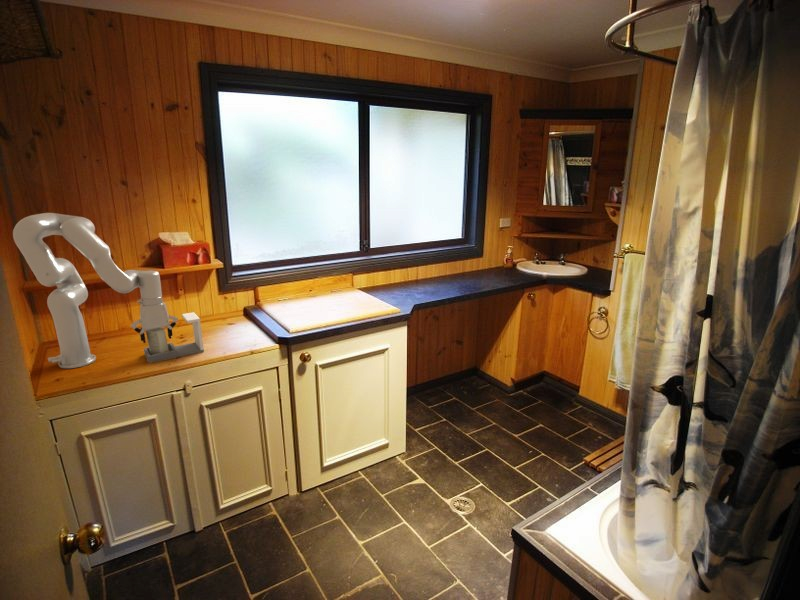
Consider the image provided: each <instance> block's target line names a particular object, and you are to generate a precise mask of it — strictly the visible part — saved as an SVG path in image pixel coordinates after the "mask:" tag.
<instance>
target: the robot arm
mask: <svg viewBox="0 0 800 600" xmlns="http://www.w3.org/2000/svg"><path fill="white" fill-rule="evenodd" d="M95 231H96V227H95V225H94V223H93V222H92V221H91V219H88V218H86V217H84V216H77V215H71V214H70V215H69V214H62V213H56V212H44V213H36V214H31V215H28V216H26V217H24V218H22V219H20V220H19V221H18V222H17V223H16V224H15V226H14V228H13V230H12V238H13V242H14V244H15V245H16V246H17V248H18V249H19V252H20V253H21V254H22V255H23V257H24V260H25V261H26V263H27V264H28V266H29V268H30V270H31V272H33V275H34V276H35V278H36V280H37V281H38V282H39V284H41V285H42V286H45V287H46V288H47V287H54V286H56V289H54V290H53V291H51V293H50V294H49V295H48V297H47V301H46V304H47V308H48V310H49V312H50V314H51V317H52V321H53V325H54V328H55V332H56V337H57V342H58V346H59V350H60V351H59V352H60V354H58V355H57V356H50V357H47V360H48V361H47V362H48V363H51V364H55V363H58V367H59V368H61V369H76V368H81V367H84V366H88V365H90V364H92V363H94V362H95V361H96V359H97V356H96V355H95V354H93V353H91V349H90V344H89V340H88V335H87V334H88V333H87V328H86V325H85V320H84V317H83V313H82V312H81V310H80V308H79V306H81V305H82V304H84V303H85V302H86V301H87V299H88V296H89V292H88V289H87V287H86V284H85V283H84V281H83V278H81V276H80V274H79V272H78V270H77V269H76V267H75V266H74V264H73V263H72V262H71V261H70V260H68V259H66V258H63V257H55V255H54V254H53V251H52V250H51V248H50V247H49V245H47V244H46V242H44V240H43V239H44V238H47V237H50V236H53V235H54V236H55V235H56V236H62V237H63V238H64V239H65V240H66V241H67V242H68V243H70V245H72V246H73V247H74V248H75V249H76V250H78V251H79V252H80V254H82V255H83V256H84V257H85V258H86V259H88V260H89V262H90V263H91V265H92V267H93V269H94V270H95V272H96V274H97V275H98V276H99V278H100V279H101V280H102V281H103V282H104V283H106V285H108V286H109V287H111V289H112V290H114V291H116V292H118V293H119V294H128V293H130V292H133V291H134V290H135V289H137V288H139V291H140V298H139V299H137V303H138V304H140V309H139V315H140V316H139V319H137V320H135V321H133V322H132V323H131V324H130V326H131V328H132V329H133V330H134V331H135V332H137V333H138V334H139V336H140V341H141V342H143V344H146V343H147V342H146V337H145V335H146V334H145V332H146V330H149V329H156V328H167V329H166V330H167V337H168V339H171V340H172V336H173V329H174V328H175V326H176V325H177V322H178V320H179V319H178V317H177V316H173V315H170V314H169V312H168V307H167V305H166V302H164V301H163V293H162V284H161V283H162V282H161V276H160V273H159V271H158V270H151V269H150V270H138V269H137V270H136V269H127V270H124V271H122V270H121V269H120V268H119V267H118V266H117V264H116V263H115V262H114V260H113V259H112V256H111V255H112V254H111V248H110V247H109V245H108V244H107V243H106V242H104V240H103V239H101V238H100V237H99V236H98V235H97V234H96V233H95ZM170 320H172V322H171V323H170ZM139 324H140V325H141V327H140V328H139V327H138V325H139Z"/></svg>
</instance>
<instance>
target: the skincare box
mask: <svg viewBox="0 0 800 600" xmlns="http://www.w3.org/2000/svg"><path fill="white" fill-rule="evenodd" d="M145 333H146V334H145V335H146V339H147V344H148V347H149V351H150V355H154V354H159V353H164V352H169V351H170V350H168V345H167V344H168V339H167V334H166V330H165V327H162V328H156V329H149V330H145Z"/></svg>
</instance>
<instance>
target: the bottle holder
mask: <svg viewBox="0 0 800 600" xmlns="http://www.w3.org/2000/svg"><path fill="white" fill-rule="evenodd" d="M181 317H182V318H183V319H184V321H185V322H186V323H187V324H192V329H193V337H194V342H190V343H186V344H180V345H174V344H173V342H167V345H168V350H169V352H164V353H159V354H154V355H150V351H149V346H147V347H143V352H144V356H145V359H146V361H147V362H148V364H151V363H152V362H153V363H158V362H162V361H167V360H171V359H175V358H176V357H177V358H180V357H181V358H182V357H186V356H189V355H195V354H199V352H200V353H204V352H205V347H204V340H203V332H202V331H203V330H202V325H201V324H202V323H201V318H200V317H199V316H198V315H197V314H196V313H195V311H192V312H187V313H182V314H181ZM177 358H176V359H177ZM153 363H152V364H153Z"/></svg>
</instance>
